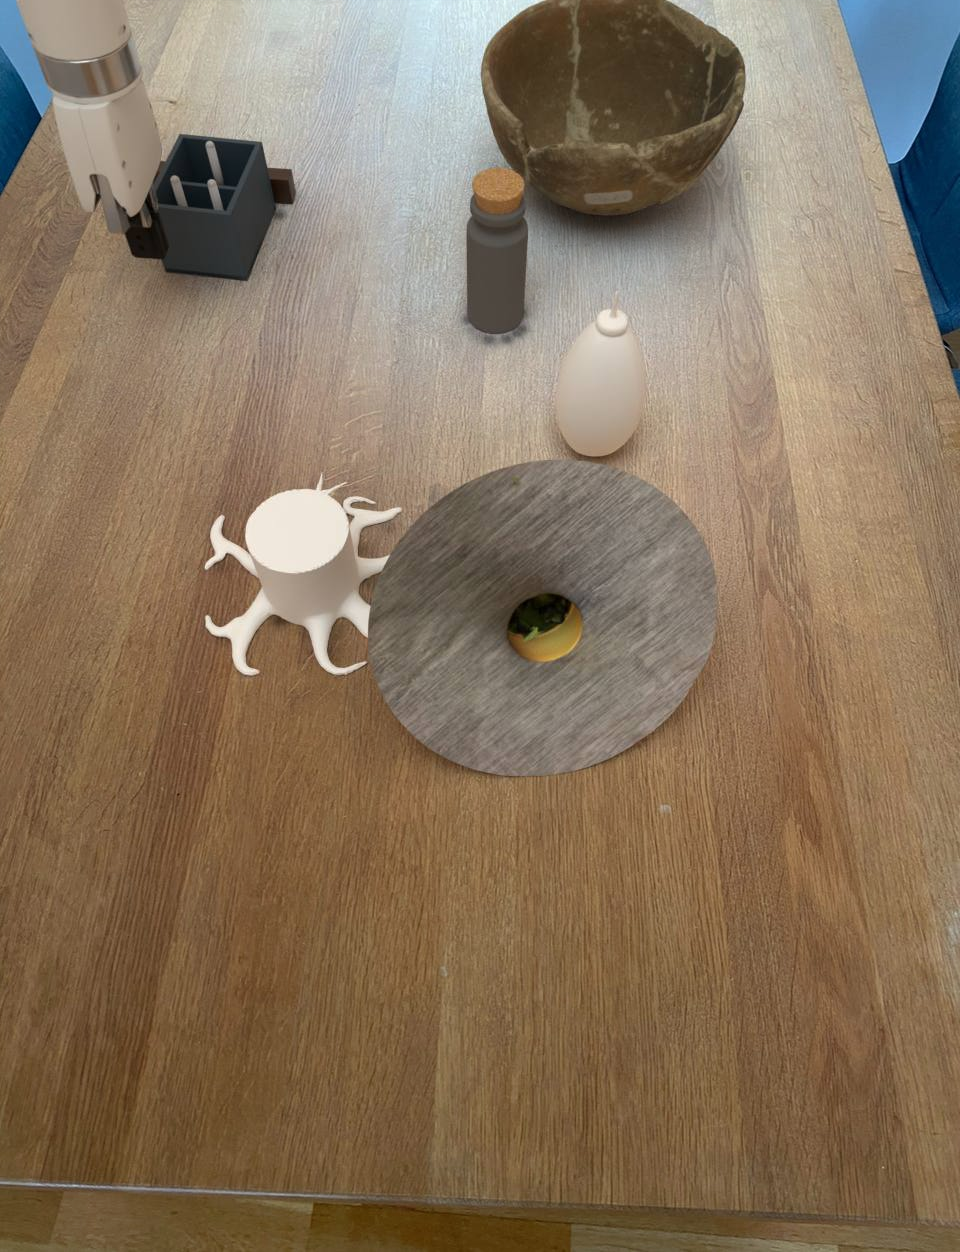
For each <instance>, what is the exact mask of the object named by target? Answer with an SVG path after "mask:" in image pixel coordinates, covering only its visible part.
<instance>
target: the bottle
mask: <svg viewBox="0 0 960 1252" xmlns="http://www.w3.org/2000/svg"><path fill="white" fill-rule="evenodd" d="M471 186H472V191H473V194H472V195H471V197H470V202H469V212H470V214H471V216H470V217H469V218H468V220H467V222H466V239H465V240H466V307H467V308H466V309H467V310H466V312H467V319H468V321H469V323H470V324H471V325H472V326H473V327H474V328H476V329H477V330H479V331H481V332H484V333H488V334H496V335H497V334H504V333H508V332H510V331H512V330H515V328H517V327H518V326H519V325H520V324H521V322H522V320H523V317H524V313H525V311H524V309H525V297H526V279H527V277H526V276H527V263H528V262H527V261H528V258H527V257H528V244H529V243H528V240H529V226H528V221H527V220H526V218H525V217H524V216H525V213H526V209H527V207H526V205H527V204H526V202H527V201H526V198H525V196H524V190H525V186H526V185H525V180H524V179H523V178H522V177H521V176H520V175H519V174H518V173H516V172H515V171H514V170H513V169H509V168H505V167H491V168H490V167H489V168H487V169H484V170H482V171H480V172H479V173H477V174H476V175H475V176H474V178H473V179H472V185H471Z"/></svg>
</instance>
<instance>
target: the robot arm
mask: <svg viewBox="0 0 960 1252" xmlns="http://www.w3.org/2000/svg"><path fill="white" fill-rule="evenodd" d="M15 2H16V5H17V7H18V10H19V13H20V16H21V19H22V21H23V24H24V26H25V27H24V28H25V30H26V32H27V35H28V38H29V40H30V43H31V47H32V48H33V52H34V55H35V56H36V60H37V62H38V65H39V67H40V70H41V73H42V76H43V79H44V82H45V84H46V87H47V89H48V90H49V92H50V93H51V94H52V99H51V100H52V102H51V103H52V107H53V113H54V118H55V122H56V127H57V132H58V133H57V134H58V136H59V140H60V144H61V149H62V151H63V154H64V159H65V161H66V164H67V168H68V172H69V174H70V177H71V180H72V183H73V186H74V190H75V192H76V195H77V198H78V201H79V203H80V205H81V208H82V210H84V212H85V213H86V214H95V212H96V210H97V208H98V205H99V203H100V201H101V205H102V208H103V213H104V218H105V221H106V225H107V230H108V232H109V234H115V235H124V236H125V239H126V241H127V244H128V247H129V250H130V253H131V256H133V257H134V258H138V259H149V260H160V261H162V260H164V259H165V257H166V252H167V251H168V249H169V244H168V241H167V237H166V234H165V231H164V227H163V224H162V221H161V217H160V214H159V213H154V211H157V210H158V199H157V195H156V191H155V186H154V182H153V180H154V177H155V175H156V172H157V169H158V167H159V164H160V161H162V155H163V147H162V146H163V145H162V141H161V140H162V139H161V135H160V131H159V128H158V124H157V119H156V117H155V114H154V109H153V107H152V104H151V101H150V98H149V95H148V92H147V89H146V85H145V84H144V80H143V74H144V73H143V67H142V64H141V60H140V56H139V52H138V49H137V46H136V42H135V38H134V34H133V31H132V28H131V24H130V22H129V21H130V20H129V18H128V14H127V11H126V7H125V3H124V0H15Z"/></svg>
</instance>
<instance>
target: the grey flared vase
mask: <svg viewBox="0 0 960 1252" xmlns="http://www.w3.org/2000/svg"><path fill="white" fill-rule="evenodd" d="M389 555H390V556H389V558H388V560H387V561H386V563H385V565H384V567H383V569H382V571H381V572H380V574H379V576H378V579H377V581H376V584H375V587H374V591H373V594H372V598H371V601H370V612H369V620H368V638H367V645H368V655H369V660H370V664H371V668H372V672H373V675H374V679H375V681H376V684H377V686H378V689H379V691H380V694H381V695H382V697H383V699H384V701H385V703H386V704H387V706H388V707H389V709H390V710H391V713H392V714H393V715H394V716H395V717H396V719H397V720H398V721H399V722H400V724H401V725H402V726H403V727H404V728H405V729H406V731H408V732H409V734H411V735H412V736H413V737H414V738H415V739H416V740H417V741H419V743H421V744H423V746H424V747H426V748H428V749H429V750H431V751H433V752H434V753H435V754H437V755H439V756H441V757H443V758H445V759H447V760H449V761H450V762H453V763H456V764H458V765H460V766H463V767H466V768H468V769H471V770H475V771H477V772H478V771H479V772H482V773H487V774H491V775H497V776H506V777H507V776H510V777H546V776H554V775H560V774H565V773H570V772H571V773H572V772H573V771H574V772H575V771H579V770H582V769H586V768H589V767H591V766H594V765H598V764H600V763H602V762H605V761H607V760H609V759H611V758H614V757H616V756H617V755H619V754H621V753H622V752H624V751H625V750H628V749H629V748H631V747H632V746H634V745H635V744H636V743H638V742H640V741H641V740H642V739H644V738H646V737H647V736H649V735H650V734H652V733H653V732H655V730H657V728H658V727H660V726H661V725H662V724H663V723H664V722H665V721H667V719H668V718H669V717H670V716H671V715H672V714H673V713H674V712H675V710H676V709H678V707H679V706H680V705H681V703H682V702H683V701H684V699H685V698H686V697H687V696H688V694H689V691H690V690H691V688H692V686H693V684H694V683H695V681H696V679H697V678H698V676H699V675H700V674H701V672H702V670H703V668H704V666H705V665H706V663H707V661H708V658H709V657H710V653H711V650H712V647H713V643H714V638H715V634H716V629H717V617H718V606H719V591H718V581H717V576H716V570H715V566H714V562H713V559H712V557H711V554H710V552H709V549H708V547H707V544H706V542H705V540H704V539H703V537H702V535H701V533H700V532H699V530H698V528H697V527H696V525H695V524H694V523H693V521H692V520H691V519H690V517H689V516H688V515H687V514H686V512H684V510H683V509H682V508H681V507H680V506H679V505H678V504H677V503H676V502H675V501H674V500H673V499H672V498H670V497H669V496H668V495H667V494H666V493H664V492H663V491H662V490H660V489H659V488H658V487H656V486H654V485H653V484H651V483H650V482H648V481H647V480H644V479H642V478H640V477H638V476H637V475H634V474H633V473H630V472H628V471H625V470H623V469H620V468H617V467H613V466H610V465H606V464H603V463H598V462H592V461H587V460H579V459H578V460H576V459H545V460H543V459H541V460H533V461H527V462H522V463H517V464H513V465H509V466H505V467H502V468H497V469H496V470H493V471H490V472H488V473H485V474H482V475H480V476H478V477H475V478H473V479H472V480H469V481H467V482H465V483H463V484H462V485H460V486H458V487H456V488H455V489H453V490H452V491H450V492H449V493H447V494H446V495H444V496H443V497H442V498H440V499H439V500H438V501H436V502H435V503H433V505H431V506H430V507H429V508H428V509H426V511H424V512H423V513H422V514H421V515H420V516H419V517H418V518H417V519H416V520H415V521H414V522H413V523H412V524H411V525H410V527H409V528H408V529H407V530H406V531H405V533H404V534H403V535H402V536H401V538H399V540H398V542H397V543H396V544H395V546H394V548H393V550H392V551H391V552H390V554H389Z"/></svg>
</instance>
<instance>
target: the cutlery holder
mask: <svg viewBox="0 0 960 1252" xmlns="http://www.w3.org/2000/svg"><path fill="white" fill-rule="evenodd" d="M164 161H165V163H164V165H163V167H162V169H161V171H160V173H159V175H158V177H157V179H156V181H155V183H154V186H155V191H156V195H157V199H158V210H157V211H154V213H159V214H160V217H161V221H162V224H163V227H164V231H165V234H166V237H167V241H168V244H169V249H168V251H167V252H166V257H165V259H164V260H161V263H162V265H163V268H164V272H166V273H171V274H172V273H173V274H182V275H189V276H198V277H199V276H200V277H208V278H209V277H210V278H218V279H227V280H236V281H246V282H248V280H249V277H250V275H251V272H252V270H253V267H254V266H255V262H256V260H257V257H258V255H259V253H260V250H261V247H262V245H263V242H264V240H265V237H266V235H267V232H268V230H269V227H270V225H271V222H272V220H273V217H274V215H275V212H276V210H277V207H276V203H275V202H274V197H273V192H272V187H271V183H270V178H269V173H268V168H269V167H268V164H267V163H268V162H267V158H266V154H265V149H264V144H263V141H258V140H257V141H256V140H249V139H248V140H247V139H237V138H227V137H217V136H207V135H206V136H205V135H196V134H187V133H179V134H178V136H177V138H176V140H175V142H174V144H173V146H172V147H171V150H170V152H169V153H168V156H167V157H166V160H164Z"/></svg>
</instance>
